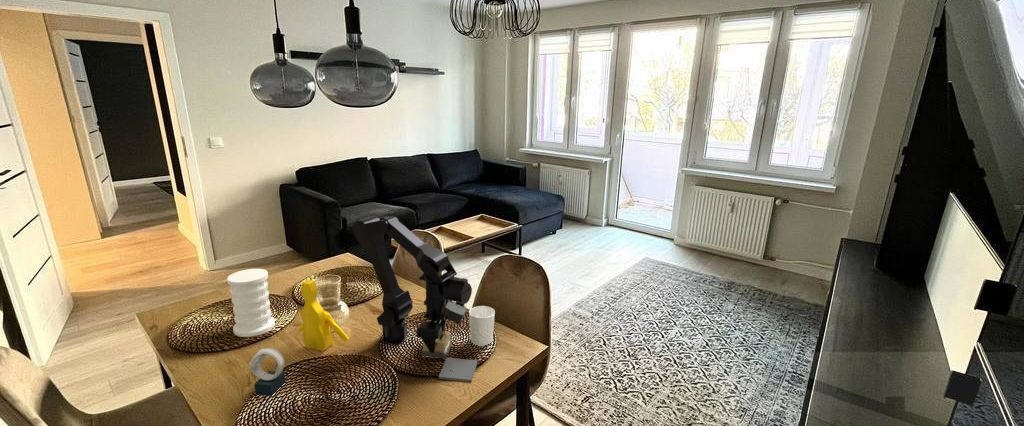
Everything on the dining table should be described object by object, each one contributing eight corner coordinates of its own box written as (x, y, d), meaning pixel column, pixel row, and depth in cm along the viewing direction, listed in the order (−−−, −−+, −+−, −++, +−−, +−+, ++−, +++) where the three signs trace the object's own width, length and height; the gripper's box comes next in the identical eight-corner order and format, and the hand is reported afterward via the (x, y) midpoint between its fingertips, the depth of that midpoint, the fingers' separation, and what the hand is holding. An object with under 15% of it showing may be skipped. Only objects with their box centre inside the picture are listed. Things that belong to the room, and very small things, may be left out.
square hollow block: (423, 350, 126) (422, 341, 125) (429, 338, 132) (429, 329, 132) (444, 352, 125) (444, 343, 125) (450, 340, 132) (450, 331, 131)
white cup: (490, 349, 131) (491, 319, 129) (465, 345, 133) (465, 316, 130) (496, 336, 139) (497, 307, 136) (473, 332, 140) (473, 304, 138)
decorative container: (224, 331, 136) (216, 278, 132) (258, 315, 147) (251, 265, 142) (251, 340, 132) (243, 285, 128) (283, 323, 143) (277, 272, 138)
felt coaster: (438, 378, 117) (438, 376, 117) (447, 359, 126) (447, 357, 125) (471, 381, 116) (471, 379, 116) (477, 362, 125) (477, 360, 125)
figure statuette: (353, 345, 131) (349, 277, 126) (336, 359, 124) (330, 288, 118) (305, 334, 136) (298, 269, 131) (285, 347, 129) (277, 279, 123)
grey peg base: (421, 357, 126) (421, 340, 125) (428, 344, 133) (428, 327, 132) (445, 359, 126) (445, 342, 124) (451, 346, 132) (451, 329, 131)
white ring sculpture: (263, 380, 114) (258, 342, 111) (291, 383, 113) (287, 345, 111) (248, 394, 109) (242, 355, 106) (278, 397, 108) (273, 358, 105)
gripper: (455, 313, 115) (456, 364, 119) (470, 284, 133) (470, 330, 137) (415, 309, 116) (416, 361, 120) (434, 281, 134) (435, 327, 138)
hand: (436, 343), depth 129 cm, fingers open, 9 cm apart
